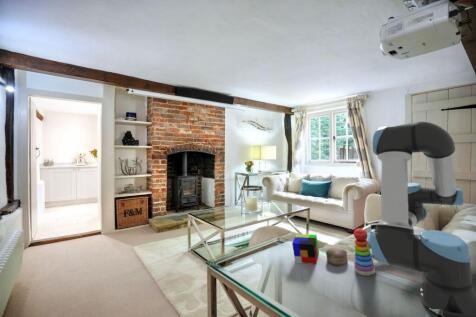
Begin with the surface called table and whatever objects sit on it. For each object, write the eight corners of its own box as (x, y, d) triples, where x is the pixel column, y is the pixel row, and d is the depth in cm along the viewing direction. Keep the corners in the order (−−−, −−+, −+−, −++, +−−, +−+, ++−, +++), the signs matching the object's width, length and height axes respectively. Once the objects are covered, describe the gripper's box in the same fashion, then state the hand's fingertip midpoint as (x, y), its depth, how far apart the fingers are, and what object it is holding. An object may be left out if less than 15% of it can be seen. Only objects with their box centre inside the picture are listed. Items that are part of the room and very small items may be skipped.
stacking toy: (378, 276, 96) (373, 232, 94) (357, 277, 97) (351, 234, 95) (371, 265, 103) (366, 224, 101) (352, 266, 105) (346, 226, 103)
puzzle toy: (295, 262, 116) (292, 243, 115) (299, 251, 125) (296, 234, 124) (316, 264, 111) (313, 244, 110) (319, 253, 120) (316, 234, 119)
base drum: (352, 262, 108) (350, 254, 107) (334, 268, 106) (333, 259, 105) (339, 253, 116) (338, 246, 116) (323, 258, 115) (322, 251, 114)
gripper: (435, 236, 102) (407, 255, 93) (378, 221, 124) (352, 236, 115) (433, 220, 101) (405, 238, 92) (377, 208, 124) (350, 222, 114)
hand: (375, 237), depth 104 cm, fingers open, 13 cm apart
